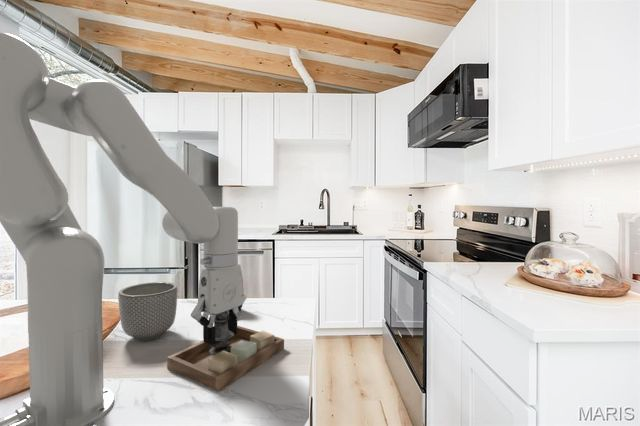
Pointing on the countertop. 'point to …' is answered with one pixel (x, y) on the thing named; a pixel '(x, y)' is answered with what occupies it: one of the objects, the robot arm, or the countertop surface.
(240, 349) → the cube
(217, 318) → the salt shaker
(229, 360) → the cube
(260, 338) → the cube
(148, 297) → the planter
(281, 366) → the countertop surface
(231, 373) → the tray
